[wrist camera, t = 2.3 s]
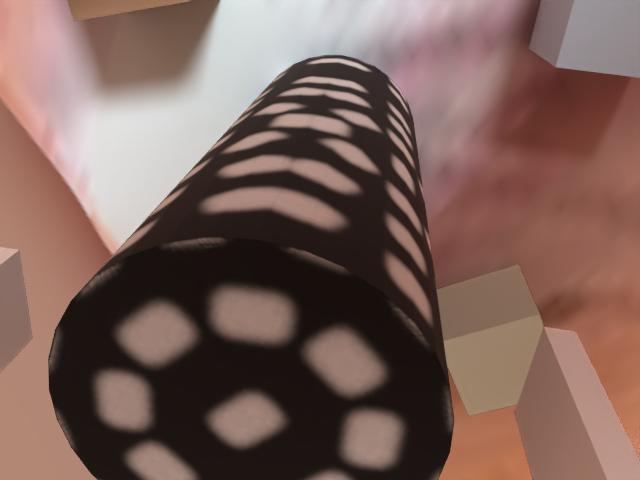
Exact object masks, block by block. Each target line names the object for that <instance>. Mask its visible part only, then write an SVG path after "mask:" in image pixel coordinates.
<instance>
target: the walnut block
mask: <svg viewBox="0 0 640 480" xmlns="http://www.w3.org/2000/svg"><path fill="white" fill-rule="evenodd" d="M189 1H193V0H68V3H69V6H70V9H71V12H72V15H73V18H74V21H80V20H86V19H91V18H97V17H103V16H109V15H114V14H120V13H126V12H131V11H137V10H143V9H149V8H154V7H160V6H166V5H171V4H177V3H183V2H189Z"/></svg>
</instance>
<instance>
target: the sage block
mask: <svg viewBox="0 0 640 480" xmlns="http://www.w3.org/2000/svg"><path fill="white" fill-rule="evenodd" d="M436 290H437V297H438V304H439V311H440V319H441V326H442V333H443V341H444V348H445V355H446V362H447V367H448V369H449V371H450V374H451V376H452V378H453V381H454V383H455V385H456V388H457V390H458V393H459V395H460V397H461V400H462V402H463V404H464V407H465V409H466V411H467V414H468V416H472V415H476V414H480V413H484V412H488V411H492V410H497V409H501V408H505V407H509V406H513V405H517V404H518V401H519V398H520V395H521V392H522V389H523V386H524V383H525V380H526V377H527V374H528V371H529V368H530V366H531V363H532V360H533V357H534V354H535V351H536V348H537V345H538V342H539V339H540V336H541V333H542V330H543V327H544V326H543V323H542V320H541V317H540V314H539V311H538V309H537V306H536V304H535V302H534V299H533V297H532V294H531V292H530V290H529V287H528V285H527V282H526V280H525V278H524V275H523V273H522V270H521V268H520V265H519V264H517V265H514V266H510V267H507V268H504V269H501V270H497V271H494V272H491V273H488V274H484V275H481V276H478V277H475V278H471V279H468V280H465V281H462V282H458V283H455V284H452V285H449V286H445V287H442V288H439V289H436Z"/></svg>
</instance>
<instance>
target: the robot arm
mask: <svg viewBox="0 0 640 480" xmlns="http://www.w3.org/2000/svg"><path fill="white" fill-rule="evenodd" d="M31 339H32V331H31V324H30V318H29V311H28V304H27V297H26V291H25V285H24V277H23V271H22V264H21V257H20V250H18V249H11V248H4V247H0V373H1V372H2V371H3V370H4V368H5V367H6V366H7V365H8V364H9V363H10V362H11V361H12V360H13V359H14V358H15V357H16V356H17V354H18V353H19V352H20V351H21V350H22V349H23V348H24V347H25V346H26V345H27V344H28V342H30V340H31ZM515 416H516V420H517V424H518V427H519V431H520V435H521V438H522V442H523V446H524V449H525V453H526V457H527V460H528V464H529V468H530V471H531V475H532V479H533V480H640V460H639V458H638V456H637V454H636V452H635V450H634V448H633V446H632V444H631V442H630V440H629V438H628V436H627V434H626V432H625V430H624V428H623V426H622V424H621V422H620V420H619V418H618V416H617V414H616V412H615V410H614V408H613V406H612V404H611V402H610V400H609V398H608V396H607V394H606V391H605V389H604V387H603V385H602V383H601V381H600V379H599V377H598V375H597V373H596V371H595V369H594V367H593V365H592V363H591V361H590V359H589V357H588V355H587V353H586V351H585V349H584V347H583V345H582V343H581V341H580V339H579V337H578V335H577V333H576V331H570V330H563V329H556V328H549V327H543V330H542V333H541V336H540V339H539V342H538V345H537V348H536V351H535V354H534V357H533V360H532V363H531V366H530V368H529V371H528V374H527V377H526V380H525V383H524V386H523V389H522V392H521V395H520V398H519V401H518V404H517V407H516V410H515Z"/></svg>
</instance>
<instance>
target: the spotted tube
mask: <svg viewBox="0 0 640 480" xmlns="http://www.w3.org/2000/svg"><path fill="white" fill-rule="evenodd" d="M48 360H49V361H48V362H49V363H48V364H49V391H50V395H51V398H52V402H53V406H54V409H55V413H56V417H57V420H58V422H59V424H60V426H61V428H62V430H63V432H64V434H65V436H66V438H67V440H68V442H69V444H70V446H71V448H72V449H73V450H74V452H75V453H76V454H77V456H78V457H79V458H80V460H81V461H82V462H83V464H84V465H85V466H86V468H87V469H88V470H89V471H90V473H91V474H92V475H93V476H94V477H95V478H96V479H97V480H438V479H439V477H440V474H441V472H442V470H443V467H444V465H445V462H446V460H447V458H448V455H449V453H450V448H451V441H452V434H453V426H454V416H453V408H452V400H451V392H450V384H449V377H448V370H447V362H446V355H445V348H444V341H443V333H442V326H441V319H440V311H439V304H438V297H437V290H436V282H435V275H434V268H433V261H432V253H431V246H430V239H429V231H428V224H427V217H426V210H425V202H424V195H423V188H422V181H421V173H420V166H419V159H418V151H417V144H416V137H415V130H414V122H413V117H412V114H411V111H410V108H409V105H408V103H407V101H406V99H405V98H404V96H403V94H402V93H401V91H400V89H399V88H398V87H397V86H396V85H395V84H394V82H393V81H392V80H391V79H390V78H389V77H388V76H387V75H385V74H384V73H383V72H381V71H380V70H379V69H377V68H376V67H374V66H372V65H370V64H368V63H366V62H364V61H361V60H359V59H355V58H351V57H346V56H341V55H324V56H318V57H313V58H308V59H306V60H303V61H301V62H299V63H296V64H294V65H292V66H291V67H289V68H288V69H286V70H285V71H283V72H282V73H280V74H279V75H278V76H277V77H276V78H275V79H274V81H273V82H272V83H271V84H270V85H269V86H268V87H267V88H266V89H265V90H264V91H263V92H262V93H261V94H260V96H259V97H258V98H257V99H256V100H255V101H254V102H253V103H252V104H251V105H250V106H249V108H248V109H247V110H246V111H245V112H244V113H243V114H242V115H241V116H240V117H239V118H238V120H237V121H236V122H235V123H234V124H233V125H232V126H231V127H230V128H229V129H228V130H227V132H226V133H225V134H224V135H223V136H222V137H221V138H220V139H219V140H218V141H217V142H216V144H215V145H214V146H213V147H212V148H211V149H210V150H209V151H208V152H207V153H206V154H205V156H204V157H203V158H202V159H201V160H200V161H199V162H198V163H197V164H196V165H195V166H194V168H193V169H192V170H191V171H190V172H189V173H188V174H187V175H186V176H185V177H184V178H183V180H182V181H181V182H180V183H179V184H178V185H177V186H176V187H175V188H174V189H173V190H172V191H171V193H170V194H169V195H168V196H167V197H166V198H165V199H164V200H163V201H162V202H161V203H160V205H159V206H158V207H157V208H156V209H155V210H154V211H153V212H152V213H151V214H150V215H149V217H148V218H147V219H146V220H145V221H144V222H143V223H142V224H141V225H140V226H139V227H138V229H137V230H136V231H135V232H134V233H133V234H132V235H131V236H130V237H129V238H128V239H127V241H126V242H125V243H124V244H123V245H122V246H121V247H120V248H119V249H118V250H117V251H116V253H115V254H114V255H113V256H112V257H111V258H110V259H109V260H108V261H107V262H106V263H105V265H104V266H103V267H102V268H101V269H100V270H99V271H98V272H97V273H96V274H95V275H94V277H93V278H92V279H91V280H90V281H89V282H88V283H87V284H86V285H85V286H84V287H83V289H82V290H81V291H80V292H79V293H78V294H77V295H76V296H75V297H74V298H73V299H72V301H71V302H70V304H69V306H68V308H67V309H66V311H65V313H64V315H63V317H62V318H61V320H60V322H59V324H58V326H57V327H56V329H55V334H54V338H53V342H52V346H51V350H50V355H49V359H48Z"/></svg>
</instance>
